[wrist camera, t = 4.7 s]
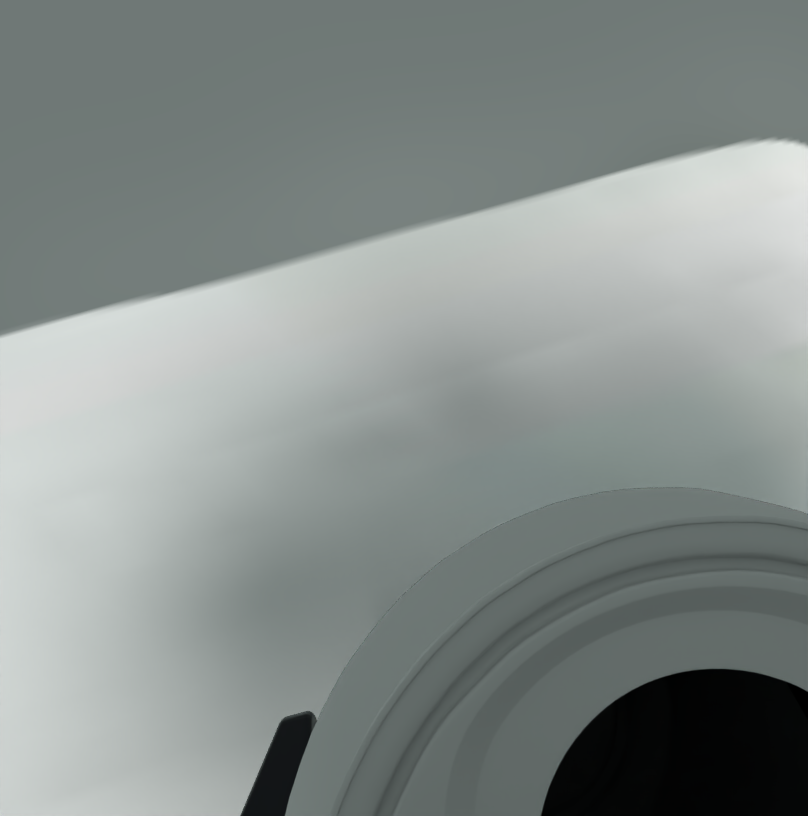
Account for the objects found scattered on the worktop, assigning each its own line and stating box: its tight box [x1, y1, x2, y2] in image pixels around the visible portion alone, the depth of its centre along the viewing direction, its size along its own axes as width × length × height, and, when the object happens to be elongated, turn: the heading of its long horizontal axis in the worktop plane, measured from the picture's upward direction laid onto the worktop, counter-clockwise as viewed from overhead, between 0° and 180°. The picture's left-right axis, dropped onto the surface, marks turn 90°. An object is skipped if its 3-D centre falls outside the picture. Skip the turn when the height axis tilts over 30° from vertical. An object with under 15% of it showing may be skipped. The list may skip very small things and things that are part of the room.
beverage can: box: [285, 488, 808, 816], centre depth 9 cm, size 6×6×12 cm
